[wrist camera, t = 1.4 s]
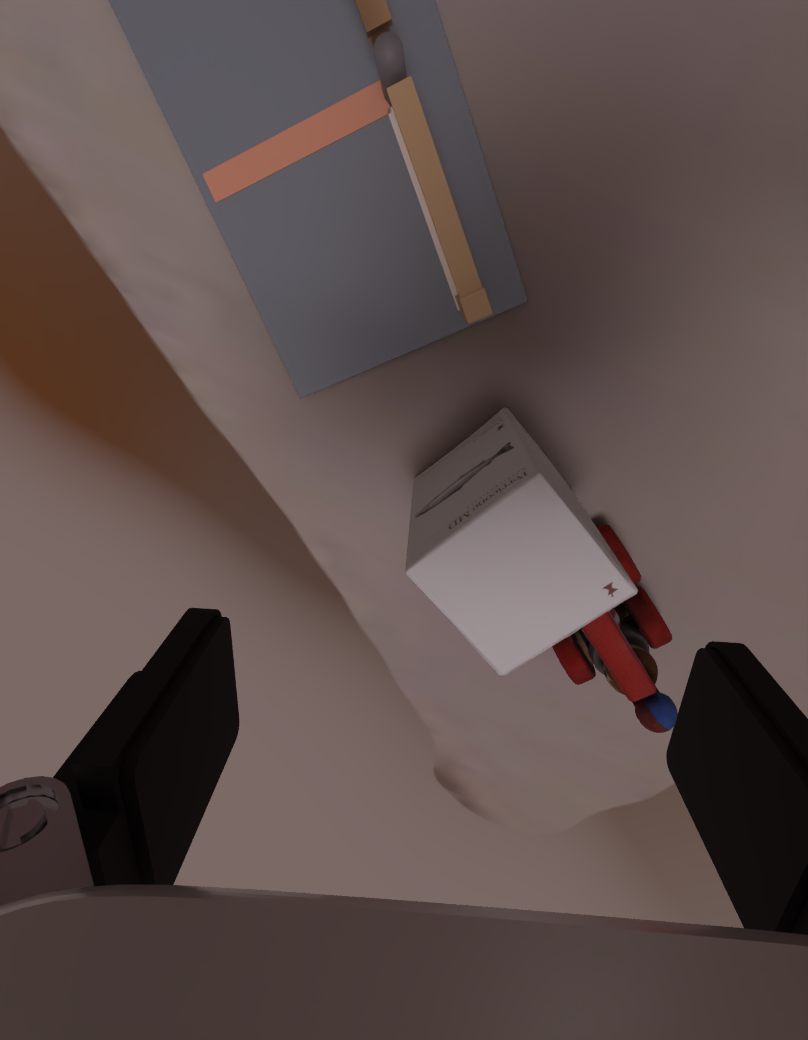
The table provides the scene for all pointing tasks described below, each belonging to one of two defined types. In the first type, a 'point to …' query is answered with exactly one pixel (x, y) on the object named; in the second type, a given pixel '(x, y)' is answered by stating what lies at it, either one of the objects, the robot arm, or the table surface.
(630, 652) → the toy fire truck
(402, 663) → the table surface
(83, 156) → the table surface
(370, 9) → the fence hinged section
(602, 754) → the table surface
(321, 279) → the card
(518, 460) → the supplement box
